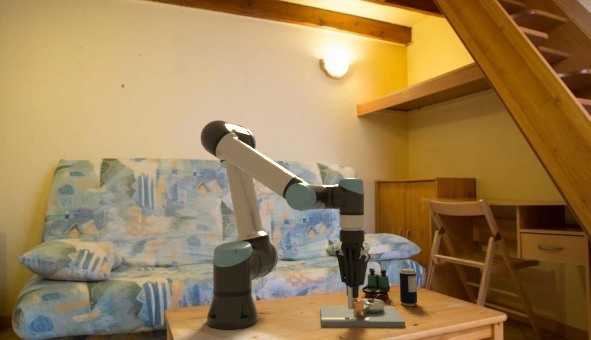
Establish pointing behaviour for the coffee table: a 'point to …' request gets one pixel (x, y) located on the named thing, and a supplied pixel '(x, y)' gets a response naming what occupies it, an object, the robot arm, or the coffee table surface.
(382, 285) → the binoculars
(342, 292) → the coffee table surface
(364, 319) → the level board
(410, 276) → the beverage can
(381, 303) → the cam lever
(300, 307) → the coffee table surface
